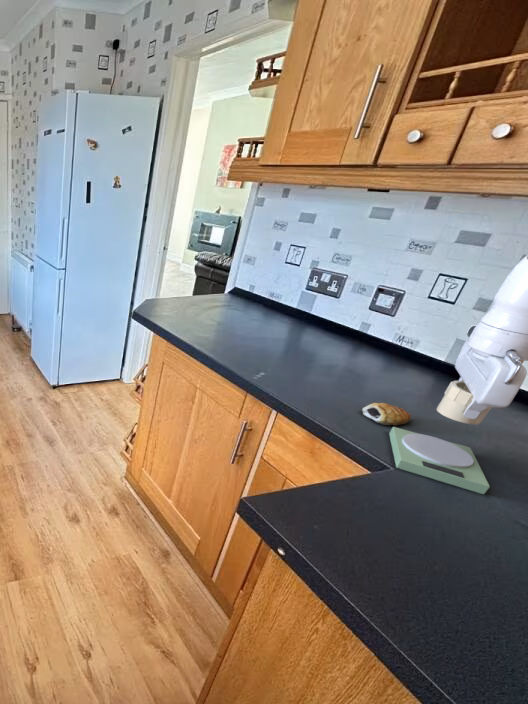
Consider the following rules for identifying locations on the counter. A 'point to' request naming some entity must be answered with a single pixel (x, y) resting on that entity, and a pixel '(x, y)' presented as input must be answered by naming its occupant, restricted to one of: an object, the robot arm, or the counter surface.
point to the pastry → (386, 414)
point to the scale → (437, 460)
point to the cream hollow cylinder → (459, 403)
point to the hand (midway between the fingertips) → (463, 407)
